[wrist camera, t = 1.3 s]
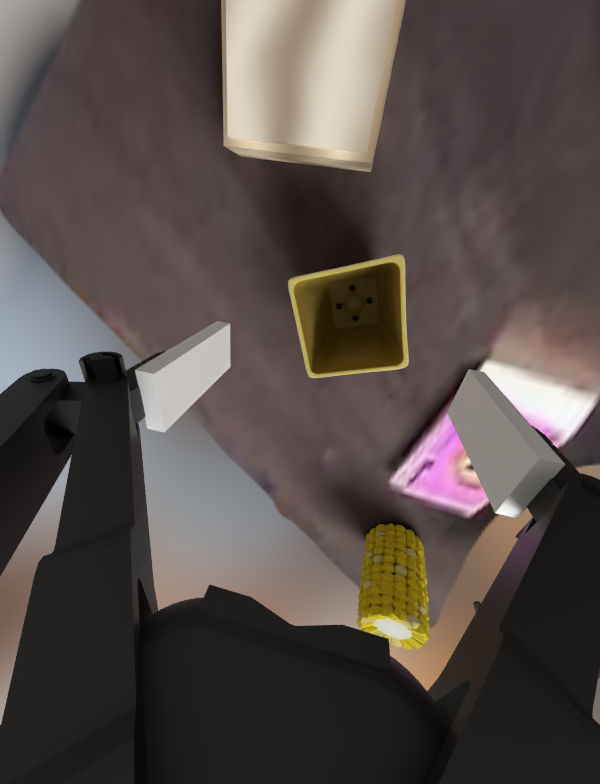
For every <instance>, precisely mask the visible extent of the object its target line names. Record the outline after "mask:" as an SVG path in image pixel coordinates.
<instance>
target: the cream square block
mask: <svg viewBox="0 0 600 784" xmlns="http://www.w3.org/2000/svg"><path fill="white" fill-rule="evenodd" d="M405 2H406V0H221V12H222V70H223V128H224V146H225V147H227V148H228V149H230V150H231V151H233V152H235V153H236V154H238V155H239V156H242V157H250V158H258V159H267V160H275V161H283V162H291V163H300V164H308V165H316V166H324V167H333V168H341V169H349V170H358V171H366V172H371V168H372V163H373V158H374V153H375V148H376V143H377V139H378V134H379V129H380V124H381V119H382V114H383V109H384V104H385V100H386V95H387V90H388V85H389V80H390V75H391V70H392V65H393V60H394V56H395V51H396V46H397V41H398V36H399V31H400V26H401V21H402V16H403V12H404V7H405Z"/></svg>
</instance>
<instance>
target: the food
mask: <svg viewBox="0 0 600 784" xmlns="http://www.w3.org/2000/svg"><path fill="white" fill-rule="evenodd" d="M366 539H367V540H366V544H365V546H366V547H365V551H364V554H365V555H364V558H363V568H362V572H361V574H362V577H361V581H360V583H361V586H360V589H359V590H360V594H359V604H358V612H359V613H358V620H357V623H358V625H359V626H360V628H361V630H362V631H365V632H368V633H371V634H374V635H378V636H381V637H384V638H388V639H389V643H390V641H391V644H392V645H393V646H395V647H401V646H403V647H404V649H413V647H416V648H417V649H419V648H421V647H422V646H423V644H424V643H425V642H426V641H427V639H429V631H428V630H429V629H430V627H429V622H428V620H429V619H430V618H429V615H428V603H427V602H428V601H429V599H428V596H427V593H428V590H427V587H426V585H427V582H428V581H427V579H426V577H425V576H426V572H425V570H426V569H425V558H424V557H423V555H424V553H425V552H424V548H423V545H422V543H421V542H420V540H419V538H418V537H417V535H416V536H415V534H414V532H413V531H412V530H411V529H408V530H406V529H405V528H404V527H403V526H402V525H398V524H397V525H396V527H395V526H394V525H393V524H392V523H391V524H388V525H384V524H379V525H378V526H377V527H376V528H372V529H371V531H370V533H369V534H367V537H366Z"/></svg>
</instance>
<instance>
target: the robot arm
mask: <svg viewBox="0 0 600 784" xmlns="http://www.w3.org/2000/svg"><path fill="white" fill-rule="evenodd" d="M79 364H80V367H81V370H82V373H83V376H84V379H85V382H69V381H68V378H67V376H66V373H65V372H64V371H62V370H59V369H40V370H35V371H32V372H30V373H27V374H25V375H23V376H22V377H20V378H19V379H18V380H16V381H15V382H14V383H13V384H12V385H11V386H9V387H8V388H7V389H6V390H5V391H3V392H2V393H1V394H0V576H1V574H2V572H3V571H4V569H5V567H6V565H7V564H8V562H9V560H10V559H11V557H12V555H13V554H14V552H15V550H16V549H17V547H18V545H19V543H20V542H21V540H22V538H23V537H24V535H25V533H26V531H27V530H28V528H29V526H30V525H31V523H32V521H33V520H34V518H35V516H36V514H37V513H38V511H39V509H40V508H41V506H42V504H43V502H44V501H45V499H46V497H47V496H48V494H49V492H50V491H51V489H52V487H53V485H54V483H55V482H56V480H57V479H58V477H59V475H60V473H61V472H62V470H63V468H64V467H65V465H66V463H67V461H68V460H69V458H70V456H71V455H72V457H71V463H70V468H69V473H68V479H67V484H66V490H65V496H64V501H63V506H62V511H61V517H60V522H59V528H58V534H57V539H56V545H55V548H54V551H53V553H52V554H49V555H46V556H43V557H42V559H41V560H40V561H39V563H38V566H37V569H36V572H35V576H34V580H33V585H32V589H31V594H30V598H29V603H28V607H27V612H26V616H25V621H24V625H23V630H22V634H21V638H20V643H19V647H18V652H17V656H16V661H15V665H14V670H13V674H12V679H11V683H10V688H9V692H8V697H7V702H6V706H5V710H4V715H3V719H2V724H1V725H0V784H600V725H599V724H598V723H597V722H596V721H595V720H594V719H593V717H592V711H593V704H594V698H595V692H596V686H597V680H598V675H599V669H600V480H599V479H596V478H594V477H592V476H589V475H585V474H580V473H579V472H578V471H577V470H576V469H575V468H574V466H573V465H572V464H571V463H570V462H569V461H568V460H567V459H566V458H565V457H564V455H563V454H562V453H560V452H559V450H558V449H557V448H556V447H555V446H554V445H552V444H553V443H552V442H551V441H550V440H549V439H548V438H547V437H546V436H545V435H544V434H543V433H542V432H540V431H539V430H537V429H536V428H535V427H533V426H531V425H530V424H529V423H528V421H527V420H526V419H525V418H524V417H523V416H522V415H521V413H520V412H519V411H518V410H517V409H516V408H515V407H514V405H513V404H512V403H511V402H510V401H509V400H508V399H507V398H506V396H505V395H504V394H503V393H502V392H501V391H500V390H499V388H498V387H497V386H496V385H495V384H494V383H493V382H492V380H491V379H490V378H489V377H488V376H487V375H486V374H485V373H484V372H480V371H475V370H470V369H469V370H468V372H467V374H466V376H465V378H464V380H463V382H462V384H461V386H460V388H459V390H458V392H457V394H456V396H455V398H454V400H453V402H452V404H451V406H450V408H449V410H448V415H449V417H450V419H451V421H452V423H453V425H454V427H455V429H456V431H457V434H458V436H459V438H460V440H461V442H462V444H463V446H464V448H465V450H466V453H467V455H468V457H469V459H470V461H471V463H472V465H473V467H474V469H475V472H476V474H477V476H478V478H479V480H480V482H481V484H482V486H483V488H484V491H485V493H486V495H487V497H488V499H489V501H490V503H491V505H492V507H493V510H494V512H495V513H497V514H501V515H506V516H510V517H514V518H518V517H519V516H520V515H521V514H522V512H523V511H524V510H525V509H526V508H528V509H529V511H530V513H531V514H532V516H533V518H532V519H531V520H530V521H529V522H528V523H527V524H526V525H525V527H523V529H522V530H521V531H520V532H519V533H518V534H517V535H516V537H517V538H518V540H517V542H516V544H515V545H514V547H513V549H512V551H511V552H510V554H509V556H508V558H507V560H506V561H505V563H504V565H503V567H502V568H501V570H500V572H499V574H498V575H497V577H496V579H495V581H494V582H493V584H492V586H491V588H490V589H489V591H488V593H487V595H486V596H485V598H484V600H483V602H482V603H481V605H480V607H479V609H478V610H477V612H476V614H475V616H474V617H473V619H472V621H471V623H470V625H469V626H468V628H467V630H466V632H465V633H464V635H463V637H462V638H461V640H460V642H459V644H458V645H457V647H456V649H455V651H454V652H453V654H452V656H451V658H450V659H449V661H448V663H447V665H446V667H445V668H444V670H443V671H442V673H441V675H440V676H439V678H438V679H437V680H436V681H435V683H434V684H433V685H432V686H431V687H430V689H429V690H428V691H426V690H425V689H424V687H423V686H422V685H421V684H420V683H419V681H418V680H417V679H416V678H415V677H414V676H413V675H412V674H411V673H410V672H409V671H408V670H407V669H406V668H405V667H404V666H403V665H401V664H400V663H399V662H398V661H397V660H395V659H394V658H392V657H391V656H390V652H389V651H390V650H389V639H388V638H384V637H381V636H378V635H374V634H371V633H368V632H365V631H361V630H358V629H354V628H351V627H348V626H345V625H321V626H319V625H318V626H294V625H291V624H289V623H288V622H286V621H285V620H283V619H282V618H280V617H279V616H278V615H276V614H275V613H273V612H272V611H270V610H269V609H267V608H266V607H265V606H263V605H262V604H260V603H259V602H257V601H256V600H254V599H253V598H251V597H249V596H245V595H242V594H239V593H236V592H232V591H229V590H226V589H222V588H219V587H216V586H212V585H209V587H208V589H207V592H206V594H205V596H204V598H195V599H189V600H185V601H181V602H178V603H175V604H172V605H170V606H168V607H165V608H163V609H161V610H159V611H158V606H157V600H156V595H155V589H154V581H153V571H152V559H151V548H150V538H149V528H148V516H147V505H146V495H145V483H144V473H143V461H142V450H141V439H140V429H139V425H138V422H139V421H141V420H142V419H143V418H144V417H145V420H146V425H147V428H148V429H152V430H156V431H161V432H165V431H166V430H167V429H168V428H169V427H170V426H171V425H172V424H173V423H174V422H175V421H176V420H177V419H178V418H179V417H180V416H181V415H182V414H183V413H184V412H185V411H186V410H187V409H188V408H189V407H190V406H191V405H192V404H193V403H194V402H195V401H196V400H197V399H198V398H199V397H200V396H201V395H202V394H203V393H204V392H205V391H206V390H207V389H208V388H209V387H210V386H212V385H213V384H214V383H215V382H216V381H217V380H218V379H219V378H220V377H221V376H222V375H223V374H224V373H225V372H226V371H227V370H228V369H229V368H230V323H224V322H219V321H217V322H215V323H213V324H212V325H210V326H208V327H207V328H205V329H203V330H202V331H200V332H198V333H196V334H195V335H193V336H191V337H190V338H188V339H186V340H185V341H183V342H181V343H180V344H178V345H176V346H174V347H173V348H171V349H169V350H168V351H163V352H160V353H156V354H154V355H152V356H151V357H149V358H148V359H145V360H144V361H142V362H141V363H138V364H137V365H135V366H133V367H131V368H130V369H128V370H126V369H125V365H124V360H123V357H122V355H121V354H119V353H116V352H97V353H92V354H88V355H86V356H84V357H82V358H81V359H80V360H79Z"/></svg>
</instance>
